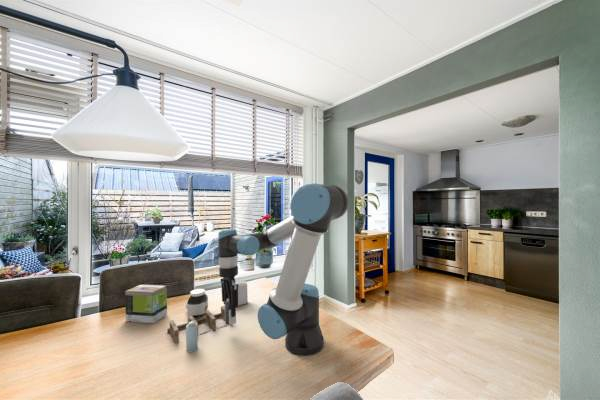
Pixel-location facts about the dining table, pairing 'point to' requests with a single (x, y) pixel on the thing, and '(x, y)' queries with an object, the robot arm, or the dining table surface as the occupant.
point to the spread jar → (197, 303)
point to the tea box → (146, 303)
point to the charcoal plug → (227, 311)
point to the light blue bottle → (191, 336)
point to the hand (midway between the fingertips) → (230, 321)
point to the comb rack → (208, 319)
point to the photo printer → (242, 292)
